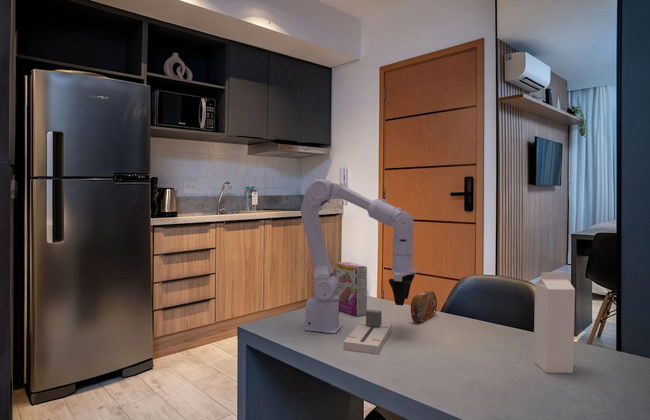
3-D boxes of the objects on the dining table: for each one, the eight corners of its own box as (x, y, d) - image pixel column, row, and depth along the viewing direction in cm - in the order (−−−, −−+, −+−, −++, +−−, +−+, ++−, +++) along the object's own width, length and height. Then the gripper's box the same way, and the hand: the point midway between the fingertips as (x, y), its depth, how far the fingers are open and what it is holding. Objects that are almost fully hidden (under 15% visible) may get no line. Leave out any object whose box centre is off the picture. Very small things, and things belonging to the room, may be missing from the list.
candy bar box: (334, 309, 141) (334, 262, 141) (345, 307, 144) (346, 261, 144) (356, 317, 132) (356, 267, 132) (367, 315, 135) (367, 265, 135)
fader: (365, 325, 117) (365, 311, 116) (367, 323, 119) (367, 309, 119) (379, 327, 115) (379, 312, 115) (381, 324, 118) (381, 310, 117)
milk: (533, 362, 97) (534, 269, 96) (559, 362, 97) (560, 270, 96) (546, 373, 91) (547, 274, 90) (574, 373, 91) (575, 274, 90)
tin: (418, 325, 124) (418, 298, 124) (408, 323, 126) (408, 296, 126) (437, 314, 136) (437, 289, 136) (428, 313, 138) (428, 288, 138)
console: (343, 349, 105) (343, 341, 104) (361, 328, 121) (361, 321, 121) (377, 354, 102) (377, 345, 101) (391, 331, 118) (391, 324, 118)
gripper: (413, 258, 108) (412, 309, 109) (420, 251, 122) (419, 297, 122) (386, 257, 110) (386, 306, 111) (396, 250, 124) (395, 294, 125)
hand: (401, 301), depth 117 cm, fingers open, 7 cm apart
